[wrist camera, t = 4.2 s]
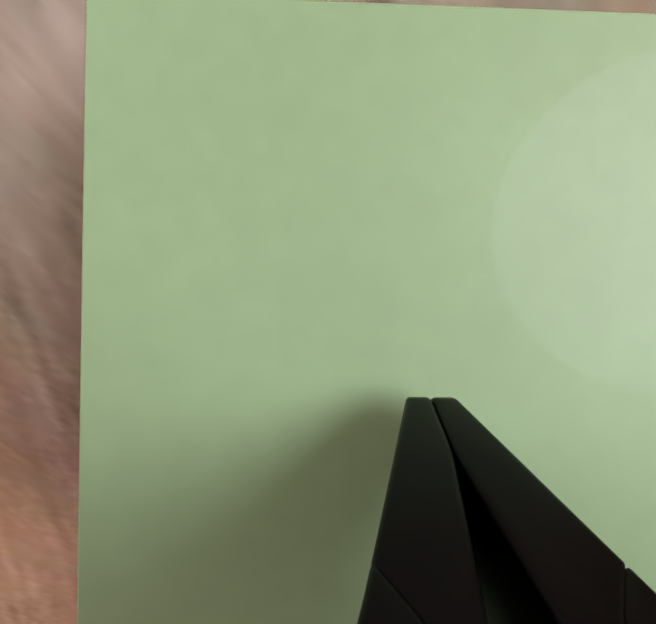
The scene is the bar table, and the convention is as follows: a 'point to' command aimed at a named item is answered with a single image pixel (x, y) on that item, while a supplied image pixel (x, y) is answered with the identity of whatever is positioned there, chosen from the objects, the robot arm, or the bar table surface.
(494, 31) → the lid
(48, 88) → the bar table surface
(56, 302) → the bar table surface
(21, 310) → the bar table surface
